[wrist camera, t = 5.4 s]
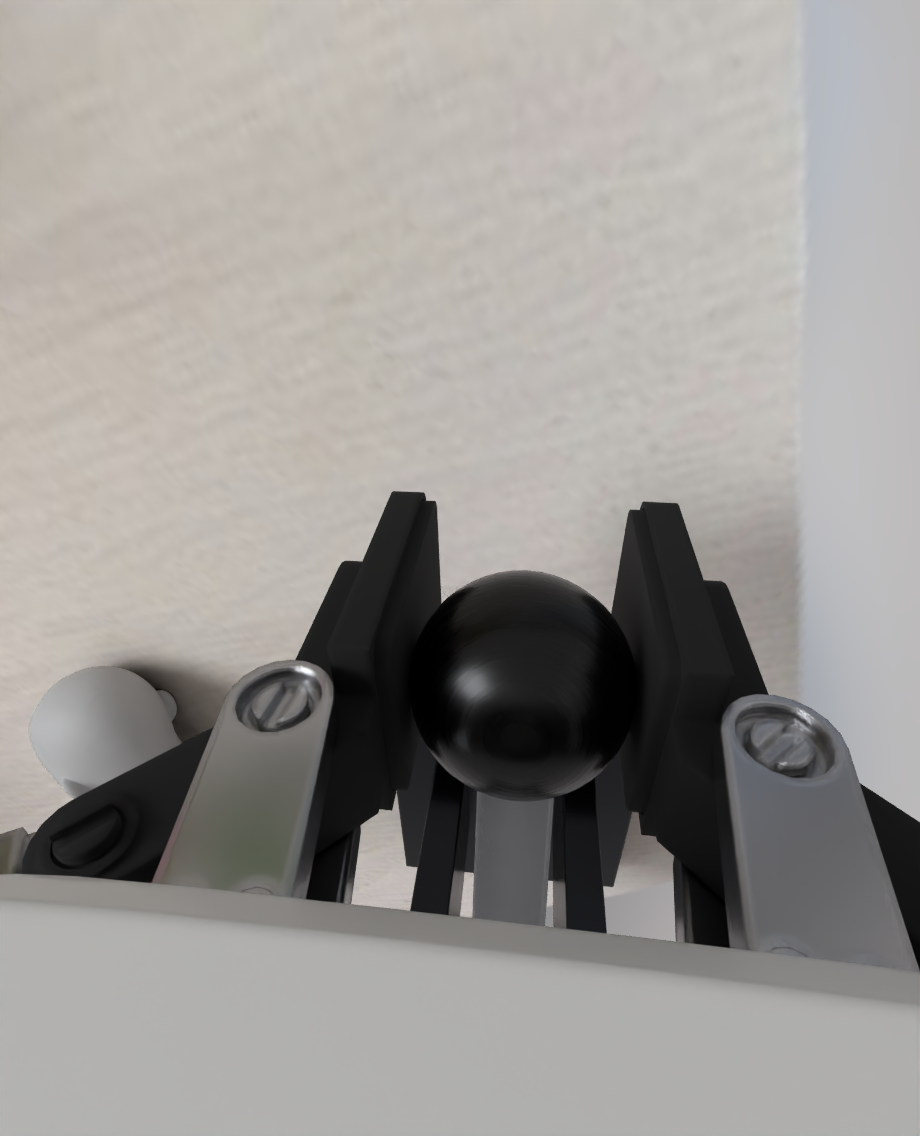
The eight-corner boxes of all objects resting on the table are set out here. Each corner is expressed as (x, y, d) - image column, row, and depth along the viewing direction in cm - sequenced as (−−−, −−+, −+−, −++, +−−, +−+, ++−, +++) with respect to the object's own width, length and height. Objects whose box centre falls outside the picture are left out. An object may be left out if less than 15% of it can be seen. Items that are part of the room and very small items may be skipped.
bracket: (391, 661, 19) (182, 1394, 8) (652, 679, 18) (815, 1520, 7) (411, 837, 25) (305, 1405, 14) (610, 857, 24) (666, 1474, 13)
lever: (429, 543, 10) (385, 603, 7) (628, 552, 10) (674, 620, 7) (421, 1220, 14) (391, 1444, 11) (562, 1242, 14) (570, 1480, 11)
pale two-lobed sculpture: (73, 630, 22) (166, 641, 19) (187, 773, 26) (275, 797, 23) (-47, 723, 19) (45, 750, 16) (104, 868, 23) (196, 907, 20)
